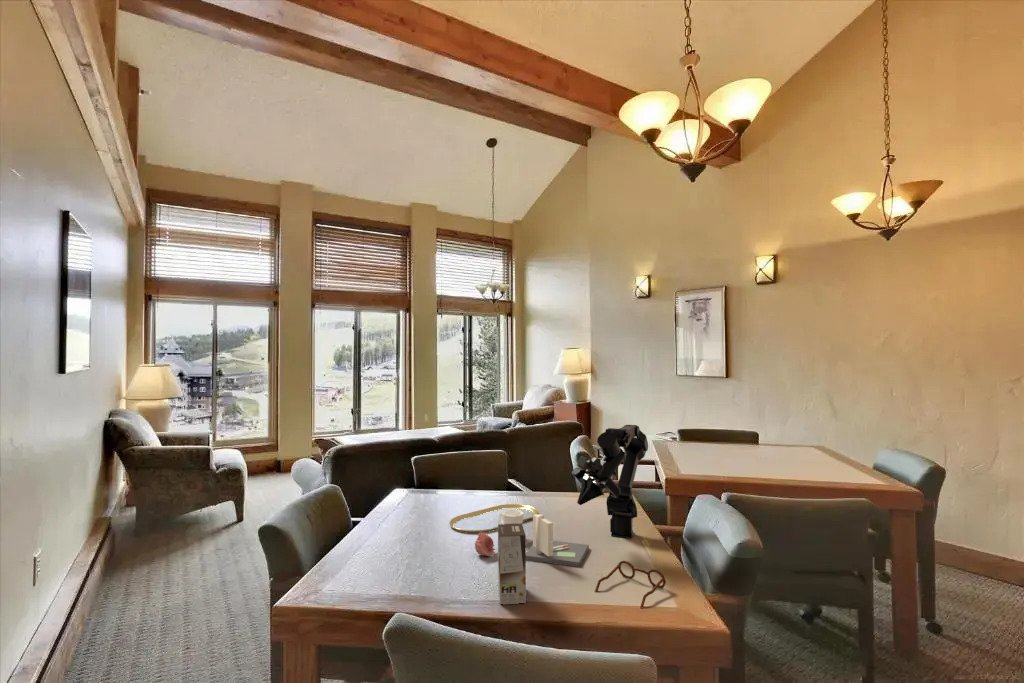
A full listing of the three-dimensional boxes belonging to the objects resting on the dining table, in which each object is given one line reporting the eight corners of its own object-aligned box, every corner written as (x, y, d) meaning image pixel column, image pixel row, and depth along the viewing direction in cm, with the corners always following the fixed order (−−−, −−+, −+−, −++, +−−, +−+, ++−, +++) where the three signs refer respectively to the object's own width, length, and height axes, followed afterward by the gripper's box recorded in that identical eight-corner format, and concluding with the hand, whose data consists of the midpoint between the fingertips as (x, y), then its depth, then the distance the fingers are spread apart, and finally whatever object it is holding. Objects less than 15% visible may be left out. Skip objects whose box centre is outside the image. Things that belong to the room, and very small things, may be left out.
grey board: (588, 548, 156) (588, 544, 156) (579, 566, 143) (578, 562, 143) (537, 542, 161) (537, 538, 161) (523, 559, 148) (523, 554, 148)
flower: (465, 534, 152) (480, 525, 151) (481, 538, 158) (495, 529, 157) (472, 560, 147) (487, 551, 146) (488, 563, 153) (503, 555, 152)
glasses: (666, 591, 129) (666, 571, 129) (641, 611, 119) (641, 589, 119) (620, 576, 138) (619, 557, 138) (593, 593, 128) (592, 573, 128)
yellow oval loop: (548, 516, 189) (548, 511, 189) (471, 539, 166) (471, 534, 166) (513, 505, 203) (513, 501, 203) (439, 525, 180) (439, 520, 180)
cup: (512, 543, 160) (512, 517, 161) (491, 535, 168) (491, 510, 168) (528, 538, 165) (528, 512, 165) (507, 530, 173) (507, 506, 173)
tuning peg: (531, 549, 152) (531, 513, 152) (562, 543, 156) (561, 508, 157) (546, 560, 144) (546, 522, 144) (578, 553, 148) (578, 516, 149)
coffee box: (526, 604, 122) (526, 535, 122) (499, 605, 121) (499, 536, 122) (522, 586, 131) (522, 522, 131) (497, 587, 130) (497, 523, 131)
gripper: (576, 442, 166) (546, 480, 161) (611, 451, 149) (579, 494, 144) (596, 464, 169) (568, 502, 164) (633, 476, 152) (603, 519, 147)
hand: (578, 504), depth 155 cm, fingers closed
